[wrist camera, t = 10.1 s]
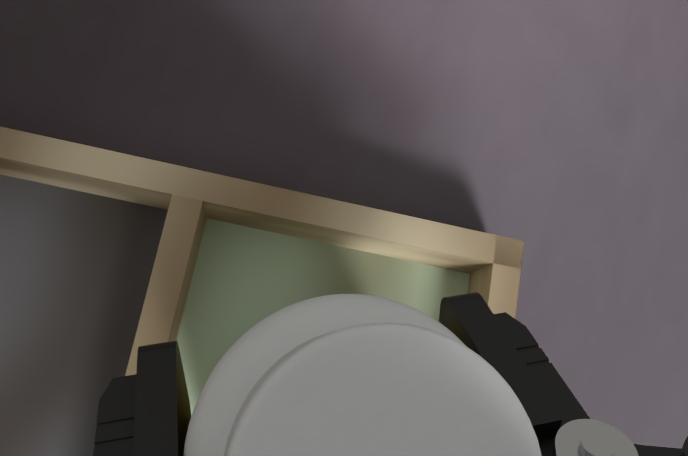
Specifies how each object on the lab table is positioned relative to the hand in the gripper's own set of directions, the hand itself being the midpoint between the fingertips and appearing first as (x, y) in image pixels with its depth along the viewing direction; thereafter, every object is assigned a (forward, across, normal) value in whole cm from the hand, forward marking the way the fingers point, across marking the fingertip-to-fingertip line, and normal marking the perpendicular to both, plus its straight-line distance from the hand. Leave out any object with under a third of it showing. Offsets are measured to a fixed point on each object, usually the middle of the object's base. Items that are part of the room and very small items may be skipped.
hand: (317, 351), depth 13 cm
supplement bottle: (+2, 0, -4) cm, 5 cm away
